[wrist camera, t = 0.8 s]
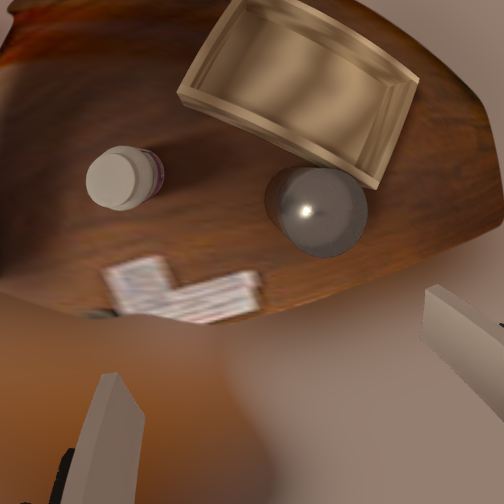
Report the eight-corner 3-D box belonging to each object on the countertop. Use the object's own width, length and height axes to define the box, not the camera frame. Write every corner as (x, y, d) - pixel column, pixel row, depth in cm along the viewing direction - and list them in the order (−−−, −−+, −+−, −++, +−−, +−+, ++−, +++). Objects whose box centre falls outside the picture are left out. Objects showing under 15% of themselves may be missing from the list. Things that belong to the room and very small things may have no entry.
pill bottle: (110, 192, 28) (70, 206, 19) (125, 143, 26) (87, 136, 17) (157, 206, 29) (132, 226, 20) (172, 157, 28) (153, 153, 18)
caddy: (183, 105, 26) (176, 92, 21) (241, 6, 23) (246, -20, 18) (350, 184, 31) (376, 189, 25) (390, 87, 28) (419, 78, 22)
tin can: (253, 216, 30) (269, 237, 22) (281, 155, 29) (309, 152, 20) (310, 241, 32) (343, 270, 24) (337, 184, 31) (380, 194, 22)
